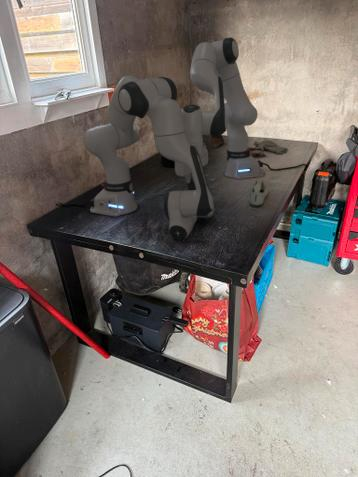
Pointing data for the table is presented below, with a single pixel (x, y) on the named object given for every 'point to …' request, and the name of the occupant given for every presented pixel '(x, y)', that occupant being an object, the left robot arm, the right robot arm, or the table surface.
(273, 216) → the table surface
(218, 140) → the boot
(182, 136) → the left robot arm
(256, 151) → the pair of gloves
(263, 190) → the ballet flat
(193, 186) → the black cylinder
